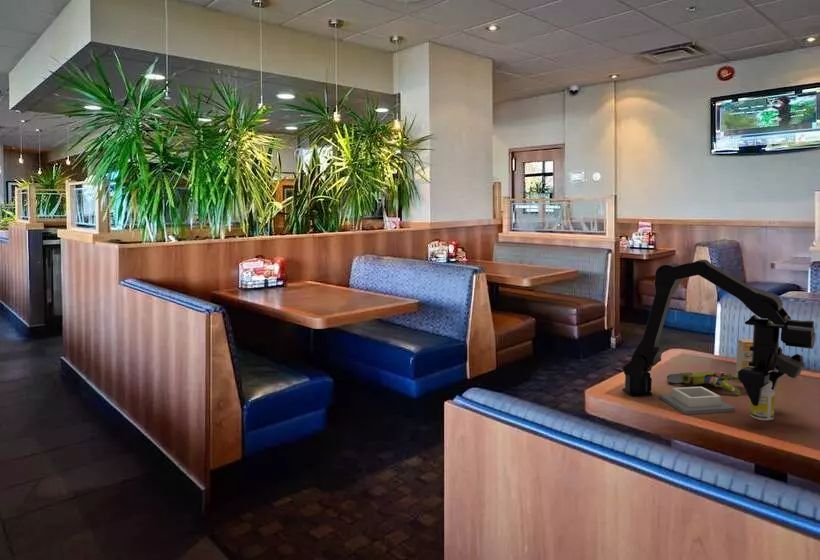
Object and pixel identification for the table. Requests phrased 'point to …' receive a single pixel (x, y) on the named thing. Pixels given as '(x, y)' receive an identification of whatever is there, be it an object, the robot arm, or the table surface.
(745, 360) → the supplement box
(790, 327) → the robot arm
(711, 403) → the socket holder
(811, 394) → the table surface
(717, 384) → the robotic hand
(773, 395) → the supplement bottle
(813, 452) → the table surface
